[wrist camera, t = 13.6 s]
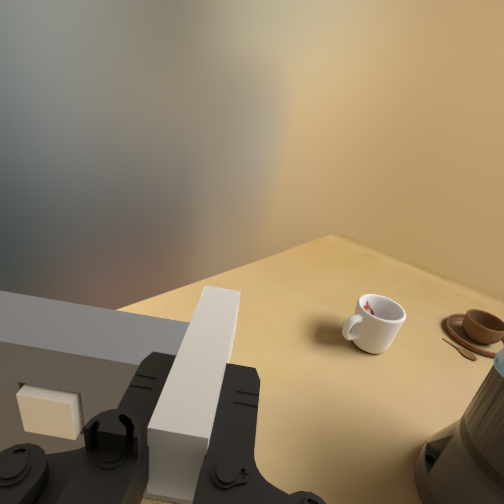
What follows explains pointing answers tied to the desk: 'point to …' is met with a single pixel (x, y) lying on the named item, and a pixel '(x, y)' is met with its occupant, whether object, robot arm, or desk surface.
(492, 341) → the place setting
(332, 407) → the desk surface
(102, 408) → the button panel
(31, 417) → the cream button
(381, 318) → the cup
